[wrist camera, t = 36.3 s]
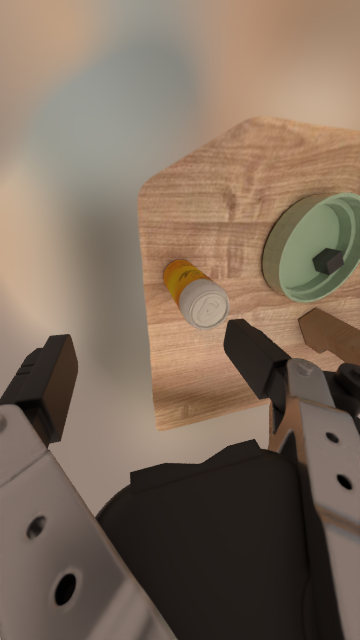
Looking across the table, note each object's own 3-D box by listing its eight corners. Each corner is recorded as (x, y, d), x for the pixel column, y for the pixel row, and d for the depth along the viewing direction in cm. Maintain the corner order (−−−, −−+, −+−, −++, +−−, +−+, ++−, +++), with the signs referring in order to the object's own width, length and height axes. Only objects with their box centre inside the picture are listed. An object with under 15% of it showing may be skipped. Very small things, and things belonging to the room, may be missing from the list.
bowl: (250, 228, 36) (270, 231, 31) (344, 172, 35) (378, 167, 30) (270, 307, 46) (287, 318, 41) (342, 265, 46) (367, 272, 41)
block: (311, 258, 42) (326, 262, 39) (326, 247, 41) (341, 250, 38) (315, 271, 43) (329, 275, 41) (329, 260, 43) (344, 264, 40)
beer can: (200, 269, 37) (242, 302, 24) (182, 296, 39) (212, 339, 26) (174, 251, 34) (206, 278, 21) (156, 281, 36) (176, 321, 23)
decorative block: (322, 333, 56) (408, 387, 39) (304, 344, 56) (383, 402, 40) (316, 306, 50) (416, 356, 33) (297, 319, 50) (385, 374, 34)
